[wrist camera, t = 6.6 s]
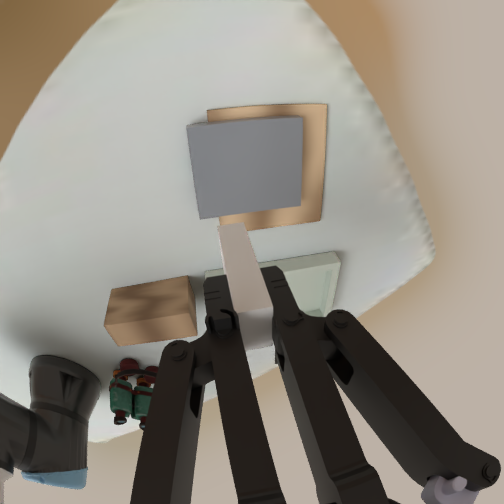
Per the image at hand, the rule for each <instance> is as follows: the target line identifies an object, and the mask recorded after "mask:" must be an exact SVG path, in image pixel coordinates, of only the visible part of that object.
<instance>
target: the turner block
mask: <svg viewBox="0 0 504 504" xmlns="http://www.w3.org/2000/svg"><path fill="white" fill-rule="evenodd" d="M104 327H105V328H106V330H107V331H108V333H109V334H110V336H111V337H112V338H113V340H114V341H115V343H116V344H117V345H118V346H126V345H134V344H142V343H150V342H157V341H165V340H171V339H178V338H185V337H191V336H197V321H196V305H195V297H194V294H193V291H192V288H191V285H190V282H189V278H188V275H187V276H182V277H177V278H171V279H166V280H160V281H155V282H149V283H143V284H138V285H132V286H127V287H121V288H115V289H112V290H111V294H110V298H109V303H108V307H107V312H106V317H105V321H104Z"/></svg>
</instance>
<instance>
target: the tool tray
mask: <svg viewBox="0 0 504 504" xmlns="http://www.w3.org/2000/svg"><path fill="white" fill-rule="evenodd" d="M340 264H341V261H340V260H339V258H338V257H337V255H336V254H335V252H334V251H332V252H326V253H320V254H314V255H307V256H301V257H295V258H289V259H282V260H276V261H270V262H263V263H258V265H259V268H263V267H269V266H275V265H276V266H277V267H278V268H280V269H281V270H282V271H283V273H284V275H285V277H286V280H287V282H288V284H289V287H290V289H291V291H292V294H293V296H294V298H295V300H296V303H297V305H298V307H299V309H300V310H302V311H303V312H304V313H305V314H307V315H310V316H316V317H326V316H327V314H328V313H330V312H331V309H332V305H333V300H334V295H335V290H336V285H337V280H338V275H339V270H340ZM219 275H225V274H224V269H218V270H211V271H205V280H206V278H207V277H213V276H219Z"/></svg>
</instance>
